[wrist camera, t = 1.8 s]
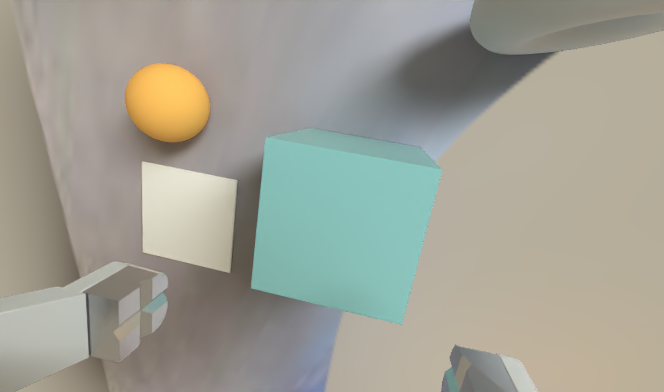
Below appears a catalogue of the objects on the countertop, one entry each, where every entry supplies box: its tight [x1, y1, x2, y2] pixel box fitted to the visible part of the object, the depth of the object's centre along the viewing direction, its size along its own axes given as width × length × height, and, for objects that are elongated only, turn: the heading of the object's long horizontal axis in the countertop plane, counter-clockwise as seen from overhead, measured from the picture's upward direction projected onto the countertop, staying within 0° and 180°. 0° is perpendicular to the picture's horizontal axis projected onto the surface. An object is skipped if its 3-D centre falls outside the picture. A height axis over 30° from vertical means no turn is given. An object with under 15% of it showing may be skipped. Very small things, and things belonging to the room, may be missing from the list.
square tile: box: [142, 161, 238, 273], centre depth 26 cm, size 8×8×1 cm
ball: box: [125, 63, 210, 142], centre depth 21 cm, size 5×5×5 cm
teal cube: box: [251, 128, 442, 325], centre depth 19 cm, size 8×8×9 cm
